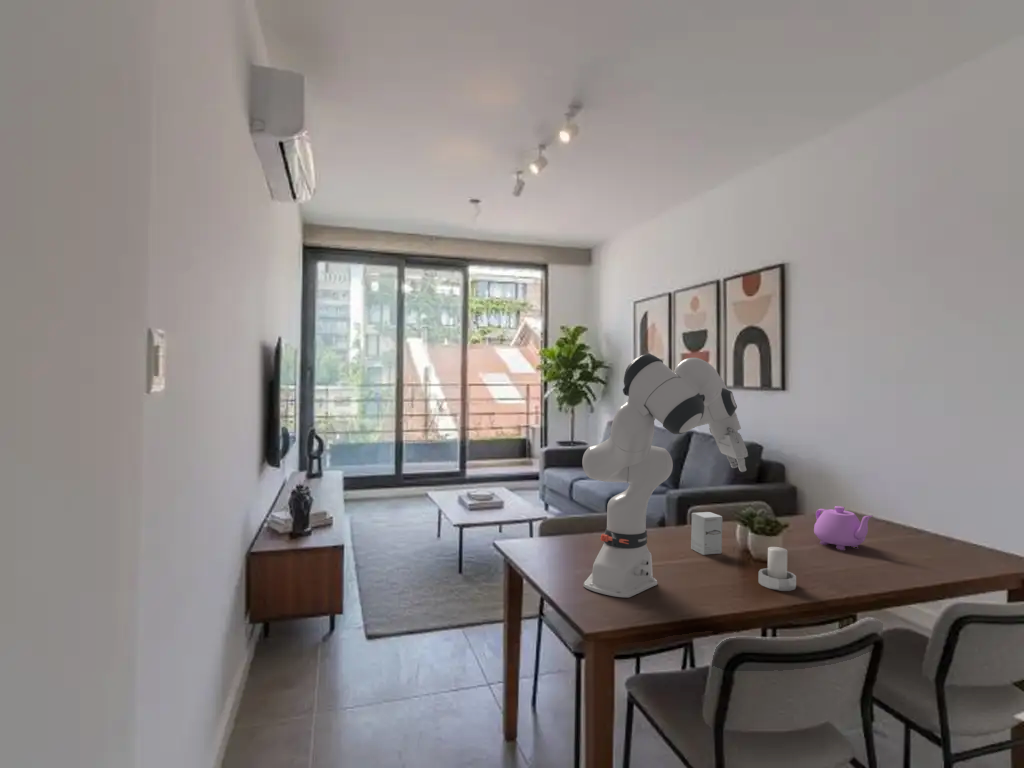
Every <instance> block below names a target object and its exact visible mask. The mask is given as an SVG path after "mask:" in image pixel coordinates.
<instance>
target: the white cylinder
mask: <svg viewBox="0 0 1024 768" xmlns="http://www.w3.org/2000/svg"><path fill="white" fill-rule="evenodd" d="M767 568H768V576H769V577H772V578H777V579H787V571H788V550H787V549H786V548H784V547H778V546H769V547H767Z"/></svg>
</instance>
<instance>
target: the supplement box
mask: <svg viewBox="0 0 1024 768" xmlns="http://www.w3.org/2000/svg"><path fill="white" fill-rule="evenodd" d="M690 534H691V535H690V549H691V550H692V551H695V552H696V553H698V554H700V555H703V556H706V555H716V554H722V551H723V516H722V515H720V514H717V513H714V512H711V511H704V512H692V513H691V532H690Z"/></svg>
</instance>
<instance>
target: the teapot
mask: <svg viewBox="0 0 1024 768" xmlns="http://www.w3.org/2000/svg"><path fill="white" fill-rule="evenodd" d="M845 509H846V508H845V507H844V506H840V505H836V506H834V509H831V508H830V509H826V508H819V509H816V511H815V518H816V521H815V523H814V524H813V527H814V528H813V532H814V535H815V536H816V537H817V538H818V539H819V540H820V542H819V544H820V545H823V546H826V545H827V544H828V545H829V544H831V545H835V546H836V547H835V548H837V549H836V550H838V549H840V550H839V551H845V550H846V547H850V546H851V547H850V548H852V547H859V546H860V545H862V544H863V542H864V541H865V540H866V536H867V535H868V532H869V526H868V525H869V520H870V519H871V518H872V517H873V515H864V516H862V519H861V521H860V519H859V517H858V516H857V515H856V513H854V512H852V511H848V510H845ZM844 549H845V550H844Z"/></svg>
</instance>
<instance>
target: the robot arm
mask: <svg viewBox="0 0 1024 768" xmlns="http://www.w3.org/2000/svg"><path fill="white" fill-rule="evenodd" d="M623 385H624V387H623V389H622V392H623V395H625V396H626V397H628V400H627V401H626V402H625V403H623V404H622V405H621V406H620V407H619V408H618V410H617V411H616V413H615V415H614V417H613V420H612V423H611V427H610V435H609V437H608V438H607V439H606V440H604V441H602V442H600V443H597V444H594V445H590V446H588V448H587V449H586V450H585V451H584V453H583V456H582V462H581V463H582V470H583V472H584V473H585V475H586V476H587V477H588V478H589V479H591V480H595V481H598V482H605V483H628V484H629V485H628V487H627V488H626V489H625V490H624V491H622V492H620V493H618V494H616V495H614V496H612V497H611V498H610V499H609V500H608V503H607V507H606V508H607V509H606V510H607V511H606V528H605V532H604V533H602V534H601V535H600V541H601V542H603V544H602V547H601V548H600V550H599V552H598V554H597V556H596V557H595V560H594V562H593V565H592V572H591V573H590V575H589V576H588V577H587V579H586V580H585V581H584V582H583V587H584V588H585V589H587V590H589V591H592V592H594V593H599V594H602V595H607V596H610V597H616V598H631V597H633V596H636V595H637V594H640V593H642V592H644V591H646V590H649V589H650V588H652V587H654V586H657V585H658V580H657V579H656V578H655V577H653V560H652V559H653V556H652V553H651V552H650V550H649V549H648V546H647V544H648V530H647V529H646V523H647V522H646V521H647V510H648V504H649V501H650V498H651V496H652V495H653V492H654V491H655V490H656V489H657V488H658V487H659V486H660V485H662V483H664V482H666V481H667V479H668V478H669V477H670V476H671V474H672V473H673V464H674V462H673V459H672V456H671V454H670V452H669V451H668V450H667V449H666V448H665V447H660V446H656V445H653V440H654V436H655V420H657V421H658V422H659V423H660V424H662V427H663V428H664V429H665V430H667V431H668V432H670V433H672V434H673V435H682V434H685V433H687V432H689V431H691V430H692V429H694V428H697V427H701V426H703V425H708V427H709V432H710V434H711V435H712V437H713V438H714V441H715V443H716V445H717V447H718V450H719V452H720V453H721V454H722V455H724V456H726V459H727V460H728V462H729V465H730V467H731V468H732V469H736V468H738V470H739V471H740V472H741V473H744V472H746V471H747V467H746V459H745V458H747V457H749V454H748V453H749V452H748V449H747V447H746V444H745V441H744V439H743V436H742V434H740V432H738V431H740V430H741V429H742V428H741V424H740V420H739V418H738V415H737V413H736V410H737V408H738V406H737V403H736V400H735V397H734V394H733V391H731V390H729V389H728V388H727V386H726V384H725V381H724V380H723V378H722V377H721V376H720V373H718V371H717V370H716V368H714V366H713V365H711V363H709V362H708V361H706V360H704V359H702V358H699V357H688V358H684V359H683V360H681V361H680V362H679V363H678V364H677V365H676V366H675V368H674V370H672V369H671V368H670V367H668V365H666V364H665V363H664V362H663V360H662V359H660V358H659V357H658V356H655V354H651V353H646V354H642V355H640V356H638V357H636V358H635V359H633V360H632V361H631V362H630V363H629V364H628V365H627V367H626V369H625V371H624V376H623Z"/></svg>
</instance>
